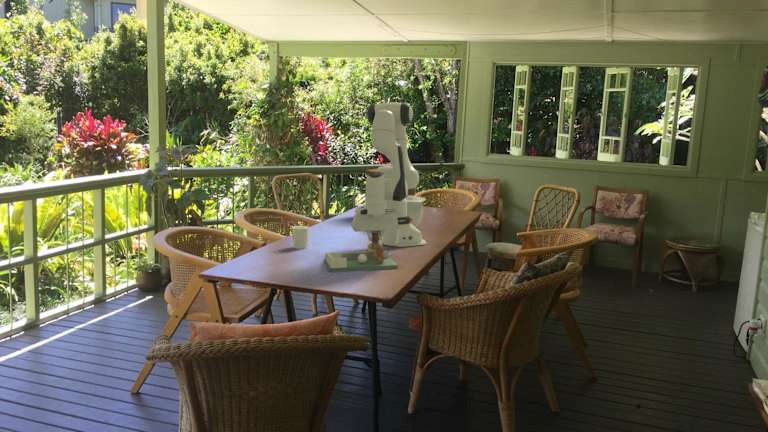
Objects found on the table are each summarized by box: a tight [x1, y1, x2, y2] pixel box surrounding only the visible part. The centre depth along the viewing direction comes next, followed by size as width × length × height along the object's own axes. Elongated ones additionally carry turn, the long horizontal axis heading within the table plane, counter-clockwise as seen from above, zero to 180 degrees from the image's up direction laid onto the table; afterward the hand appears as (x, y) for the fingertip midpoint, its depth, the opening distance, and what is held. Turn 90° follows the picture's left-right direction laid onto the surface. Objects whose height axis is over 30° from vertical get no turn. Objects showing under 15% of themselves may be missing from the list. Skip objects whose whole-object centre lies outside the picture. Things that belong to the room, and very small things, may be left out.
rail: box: [324, 250, 389, 261], centre depth 276 cm, size 28×2×3 cm, turn 105°
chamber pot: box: [406, 194, 427, 228], centre depth 362 cm, size 28×28×21 cm
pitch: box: [323, 251, 399, 273], centre depth 270 cm, size 29×17×6 cm, turn 105°
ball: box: [358, 254, 367, 263], centre depth 268 cm, size 4×4×4 cm
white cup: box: [291, 225, 310, 250], centre depth 305 cm, size 8×8×10 cm
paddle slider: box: [367, 231, 385, 263], centre depth 273 cm, size 6×13×11 cm, turn 14°
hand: (375, 240), depth 277 cm, fingers closed on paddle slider, 3 cm apart
